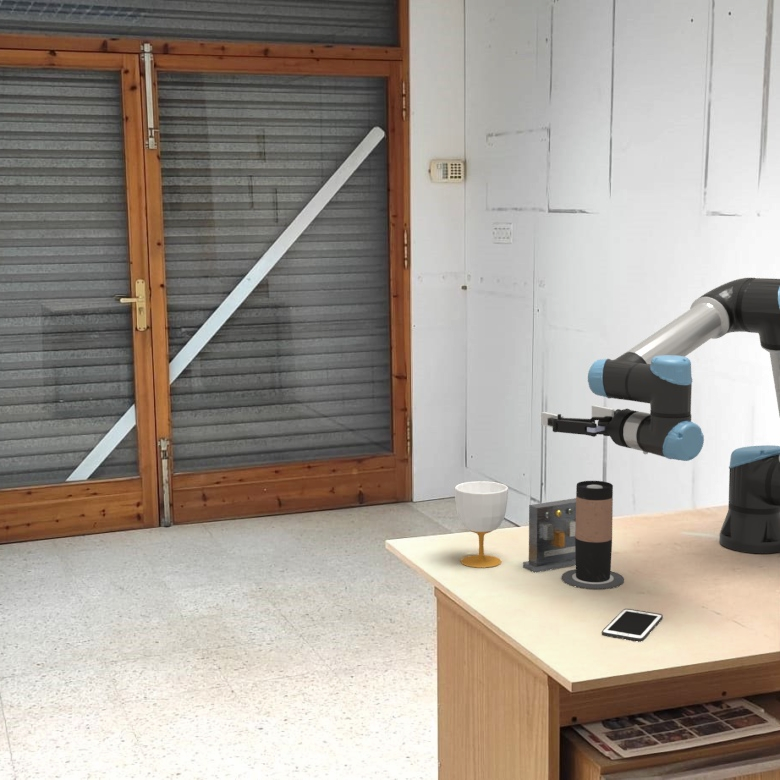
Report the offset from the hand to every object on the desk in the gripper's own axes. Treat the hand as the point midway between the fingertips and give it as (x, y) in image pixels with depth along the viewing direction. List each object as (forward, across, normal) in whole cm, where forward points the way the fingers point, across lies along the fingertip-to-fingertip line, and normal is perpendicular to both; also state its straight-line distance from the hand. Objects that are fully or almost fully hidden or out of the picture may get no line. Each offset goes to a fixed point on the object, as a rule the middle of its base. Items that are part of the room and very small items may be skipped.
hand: (568, 414), depth 241 cm
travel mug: (-10, -2, -33) cm, 35 cm away
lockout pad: (-10, -2, -34) cm, 35 cm away
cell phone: (-36, -13, -34) cm, 51 cm away
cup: (+12, -15, -34) cm, 39 cm away
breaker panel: (+2, -1, -34) cm, 34 cm away
